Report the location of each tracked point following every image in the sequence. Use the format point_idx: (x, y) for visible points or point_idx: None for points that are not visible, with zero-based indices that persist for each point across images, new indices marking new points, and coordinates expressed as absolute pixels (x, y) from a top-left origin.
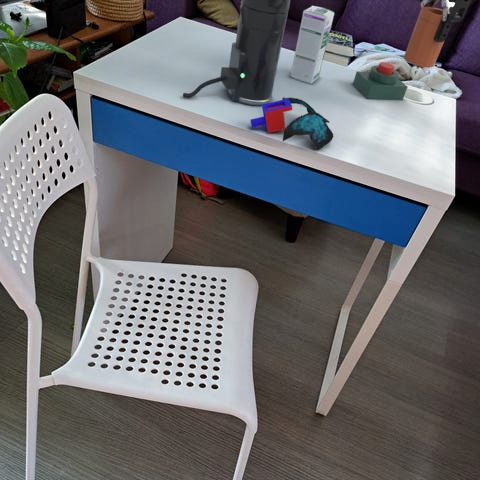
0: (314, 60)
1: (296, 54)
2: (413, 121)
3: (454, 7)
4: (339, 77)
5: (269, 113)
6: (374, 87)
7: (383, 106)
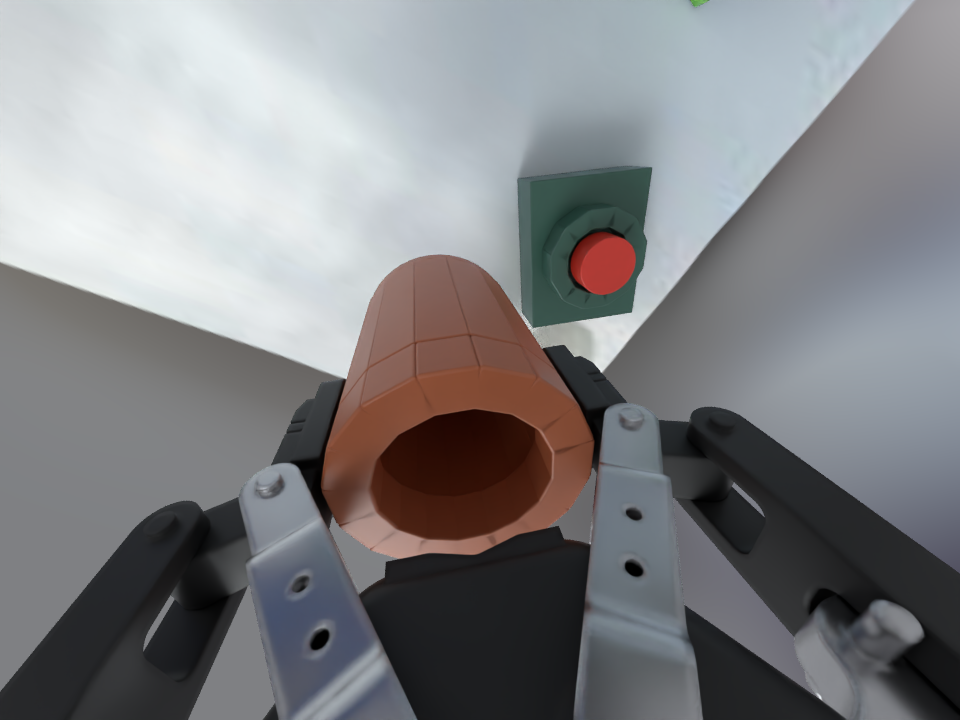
0: None
1: None
2: None
3: (102, 619)
4: (686, 132)
5: None
6: (528, 197)
7: (467, 222)
